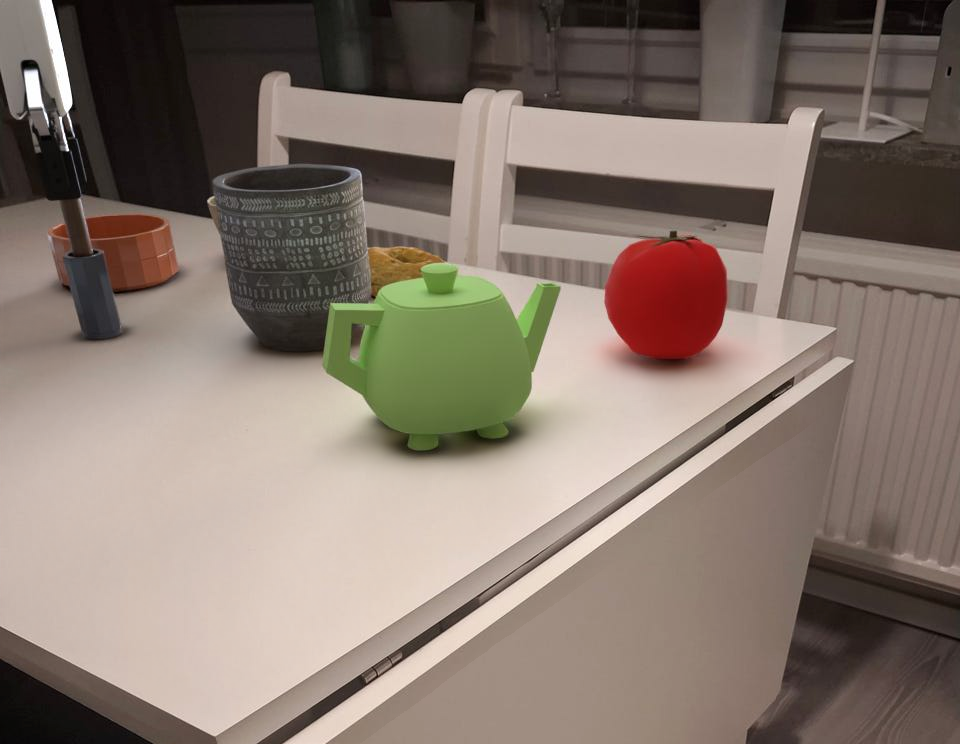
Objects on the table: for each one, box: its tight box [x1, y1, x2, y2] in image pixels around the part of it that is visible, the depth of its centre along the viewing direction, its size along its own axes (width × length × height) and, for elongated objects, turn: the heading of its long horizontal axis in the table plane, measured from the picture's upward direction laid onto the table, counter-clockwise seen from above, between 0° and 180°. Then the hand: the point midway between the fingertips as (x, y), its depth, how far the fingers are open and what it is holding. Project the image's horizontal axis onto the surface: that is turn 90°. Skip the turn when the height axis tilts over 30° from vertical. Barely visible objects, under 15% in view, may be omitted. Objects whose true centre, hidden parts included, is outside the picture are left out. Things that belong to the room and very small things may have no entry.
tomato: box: [603, 230, 729, 360], centre depth 95 cm, size 12×12×11 cm
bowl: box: [46, 213, 179, 293], centre depth 123 cm, size 14×14×6 cm
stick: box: [56, 132, 94, 257], centre depth 101 cm, size 2×2×18 cm
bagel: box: [367, 245, 446, 298], centre depth 116 cm, size 10×11×5 cm
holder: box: [62, 249, 123, 341], centre depth 105 cm, size 4×4×8 cm
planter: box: [211, 163, 372, 353], centre depth 100 cm, size 14×14×15 cm
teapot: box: [321, 262, 562, 451], centre depth 81 cm, size 20×13×13 cm
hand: (67, 190), depth 99 cm, fingers open, 6 cm apart
